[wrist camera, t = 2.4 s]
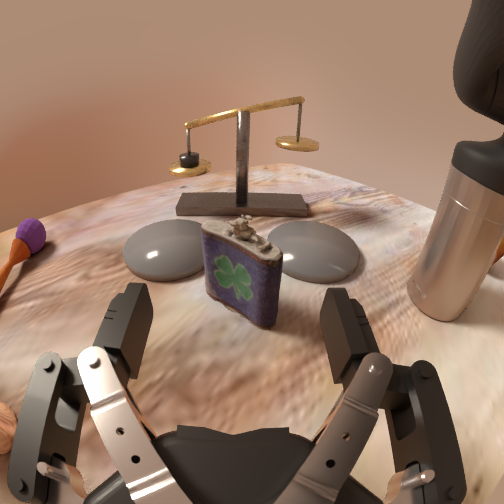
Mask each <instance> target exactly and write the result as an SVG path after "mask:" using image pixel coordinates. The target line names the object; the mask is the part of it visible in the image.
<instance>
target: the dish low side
mask: <svg viewBox="0 0 504 504" xmlns="http://www.w3.org/2000/svg"><path fill="white" fill-rule="evenodd" d="M201 225H202V224H200V223H198V222H194V221H190V220H180V219H176V220H165V221H160V222H156V223H153V224H150V225H148V226H146V227H143V228H142V229H140V230H138V231H137V232H135V233H134V234H133V235H132V236H131V237H130V238H129V239H128V240H127V242H126V244H125V246H124V249H123V255H124V259H125V263H126V265H127V267H128V269H129V270H130V271H131V272H132V273H133V274H134V275H136V276H138V277H140V278H143V279H146V280H150V281H173V280H178V279H182V278H185V277H188V276H190V275H193V274H195V273H197V272H198V271H200V270H201V269H203V268H204V257H203V248H202V237H201V230H200V227H201Z"/></svg>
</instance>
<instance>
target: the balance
mask: <svg viewBox="0 0 504 504" xmlns="http://www.w3.org/2000/svg"><path fill="white" fill-rule="evenodd" d="M304 101H305V99H304V97H301V96H299V97H293V98H287V99H281V100H276V101H270V102H265V103H260V104H256V105H251V106H246V107H242V108H238V109H234V110H230V111H226V112H222V113H218V114H214V115H211V116H207V117H204V118H200V119H197V120H193V121H190V122H187V123H186V124H185V125H184V127H185V129H187V150H188V153H183V154H181V155H180V161H178V162H175V163H173V164H171V165H170V166H169V173H170V174H171V175H173V176H177V177H193V176H199V175H202V174H205V173H207V172H209V171H210V170H211V163H210V162H209V161H207V160H202V159H199V154H198V153H195V152H191V150H190V129H192V128H195V127H199V126H202V125H206V124H209V123H213V122H216V121H220V120H224V119H228V118H232V117H236V116H237V147H236V148H237V150H236V152H237V153H236V154H237V155H236V193H227V192H209V193H182V195H181V197H180V199H179V202H178V204H177V206H176V214H177V215H244V216H246V215H250V216H289V217H307V210H308V209H307V207H306V204H305V202H304V200H303V197H302V195H301V194H278V193H248V165H249V162H248V161H249V132H250V113H253V112H258V111H263V110H267V109H273V108H278V107H284V106H289V105H295V104H299V110H298V124H297V135H296V137H295V136H283V137H278V138H276V143H275V144H276V145H277V146H278V147H281V148H284V149H288V150H293V151H304V152H309V151H317V150H318V149H319V143H318V142H316V141H314V140H311V139H308V138H302V137H299V136H300V125H301V113H302V103H304Z"/></svg>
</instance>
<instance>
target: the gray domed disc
mask: <svg viewBox="0 0 504 504" xmlns="http://www.w3.org/2000/svg"><path fill="white" fill-rule="evenodd" d="M267 241H269V242H270V243H272V244H273V245H275V246H277V247H278V248H280V250H281V251H282V252H283V266H282V272H283V273H285V274H287V275H289V276H291V277H293V278H296V279H299V280H302V281H306V282H312V283H331V282H336V281H339V280H342V279H344V278H346V277H348V276H349V275H350V274H352V273H353V271H354V270H355V268H356V266H357V262H358V259H359V250H358V247H357V245H356V244H355V242H354V241H353V240H352V239H351V238H350V237H349V236H348V235H347V234H345V233H344V232H342V231H340V230H339V229H337V228H334V227H332V226H329V225H326V224H323V223H318V222H311V221H295V222H289V223H285V224H282V225H280V226H278V227H276V228H275V229H274V230H272V231H271V233H270V234H269V236H268V239H267Z"/></svg>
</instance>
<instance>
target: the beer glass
mask: <svg viewBox="0 0 504 504" xmlns="http://www.w3.org/2000/svg"><path fill="white" fill-rule="evenodd" d="M16 426H17V420H16V417H15V414H14V413H13V411H12V410H11V408H10V407H9V406H7V405H6V404H4V403H3V402H1V401H0V454H6V453H8V452H9V451H10V450H11V449H12V445H13V440H14V435H15V431H16Z"/></svg>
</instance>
